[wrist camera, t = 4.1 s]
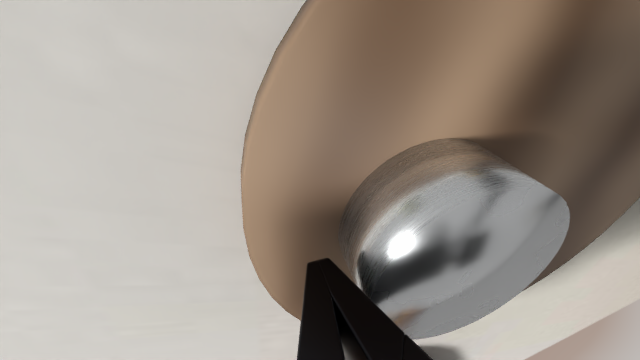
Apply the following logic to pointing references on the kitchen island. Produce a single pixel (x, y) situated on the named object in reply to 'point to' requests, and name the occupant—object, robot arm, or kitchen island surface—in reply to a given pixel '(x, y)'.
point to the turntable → (438, 113)
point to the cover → (448, 235)
